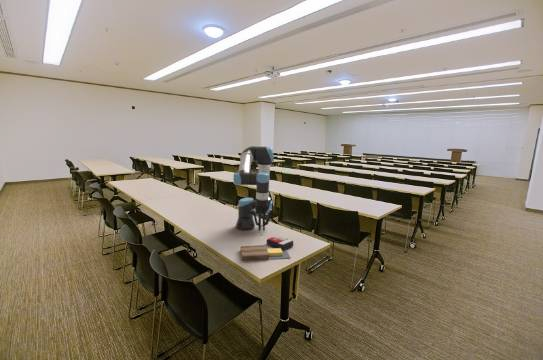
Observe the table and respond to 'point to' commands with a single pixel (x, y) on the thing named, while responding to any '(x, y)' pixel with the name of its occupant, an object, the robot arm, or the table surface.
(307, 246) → the table surface
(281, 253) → the butter yellow block
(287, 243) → the calculator
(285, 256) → the mat
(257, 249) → the brown wooden slab
